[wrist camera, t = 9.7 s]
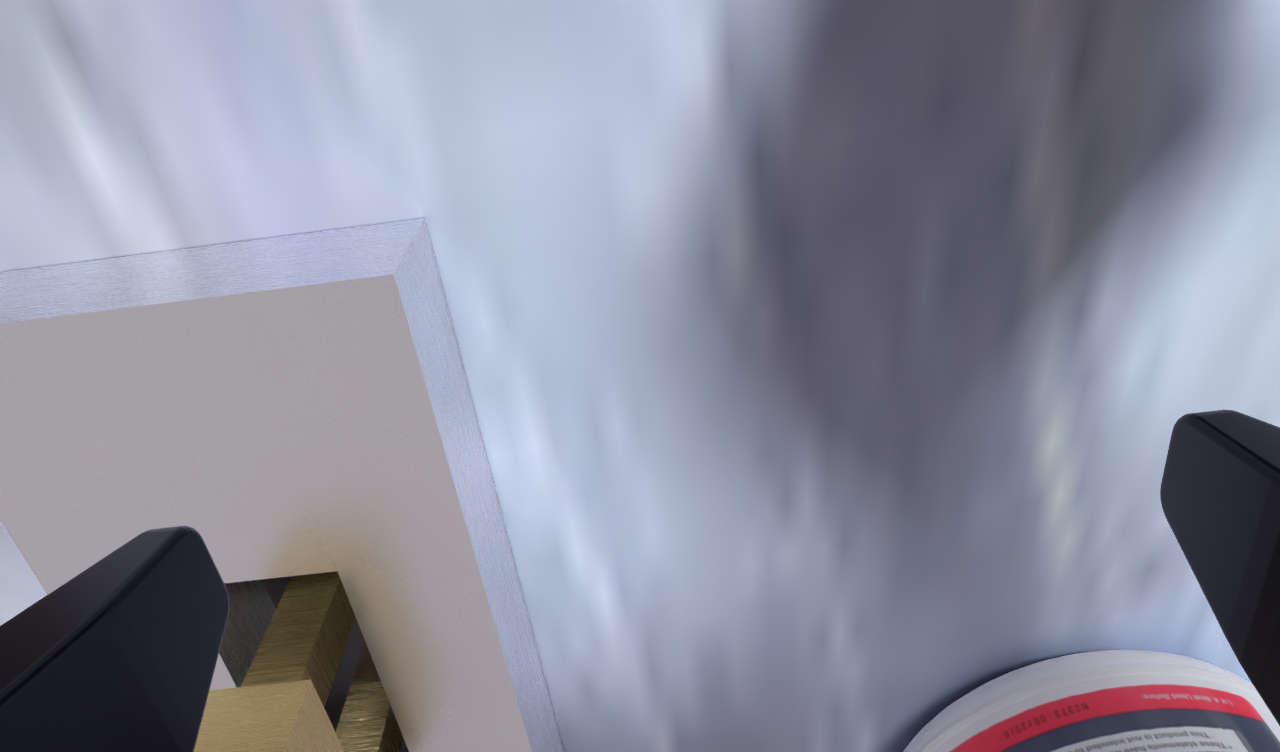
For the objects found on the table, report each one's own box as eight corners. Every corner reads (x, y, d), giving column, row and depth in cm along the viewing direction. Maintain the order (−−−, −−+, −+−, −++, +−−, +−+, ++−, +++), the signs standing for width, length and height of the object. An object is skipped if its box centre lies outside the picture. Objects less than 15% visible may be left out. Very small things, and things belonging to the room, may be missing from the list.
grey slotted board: (424, 217, 19) (394, 274, 17) (593, 864, 31) (590, 954, 29) (-18, 274, 20) (-114, 337, 17) (315, 888, 32) (288, 980, 29)
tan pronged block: (362, 543, 24) (272, 780, 18) (429, 719, 27) (374, 966, 21) (273, 554, 24) (155, 792, 18) (352, 727, 27) (275, 975, 21)
